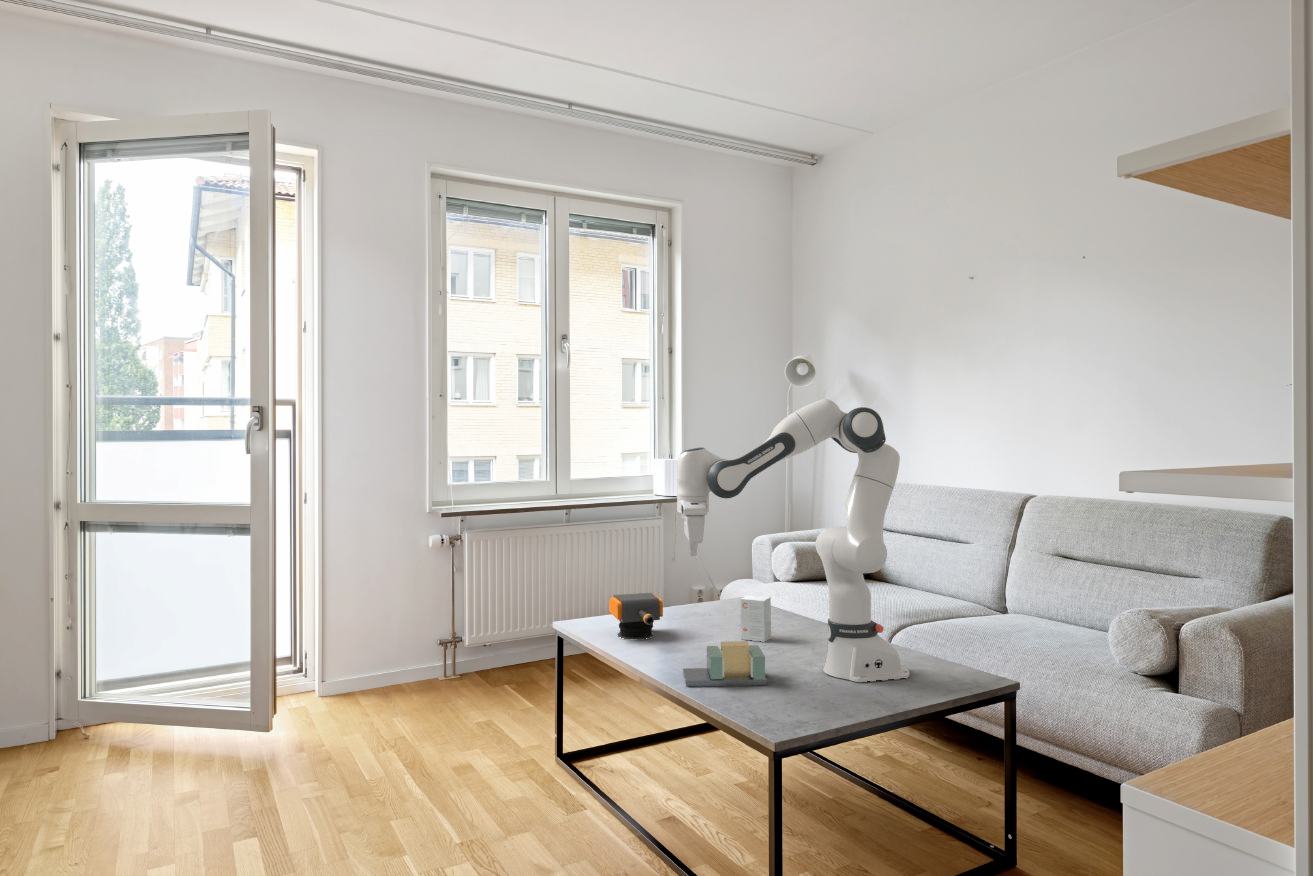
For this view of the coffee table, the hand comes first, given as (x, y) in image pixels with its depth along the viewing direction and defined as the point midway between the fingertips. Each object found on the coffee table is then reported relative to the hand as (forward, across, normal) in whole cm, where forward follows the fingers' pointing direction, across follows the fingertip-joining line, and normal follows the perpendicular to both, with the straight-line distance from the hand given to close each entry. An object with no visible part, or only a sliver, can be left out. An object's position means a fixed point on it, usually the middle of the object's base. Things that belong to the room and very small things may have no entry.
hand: (693, 555), depth 232 cm
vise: (+31, +12, +7) cm, 34 cm away
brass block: (+30, +12, +10) cm, 34 cm away
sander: (+31, -31, -15) cm, 46 cm away
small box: (+31, -29, +22) cm, 48 cm away
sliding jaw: (+29, +12, +5) cm, 32 cm away
